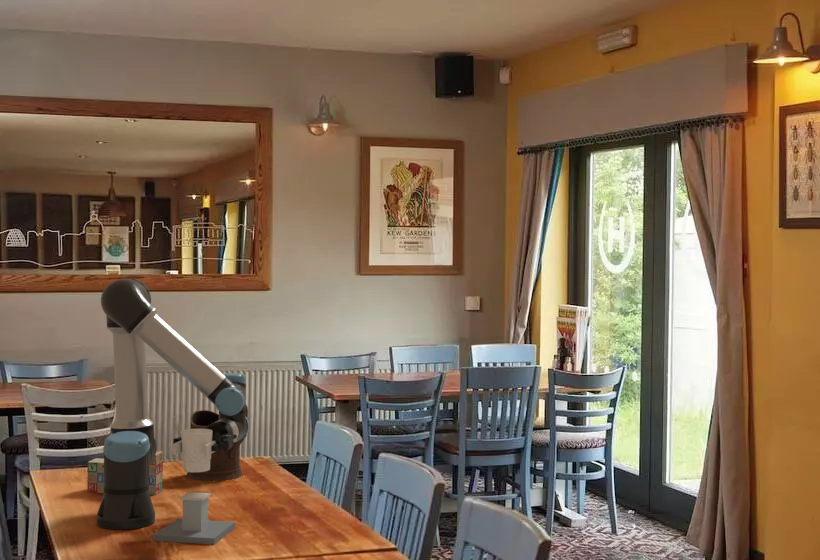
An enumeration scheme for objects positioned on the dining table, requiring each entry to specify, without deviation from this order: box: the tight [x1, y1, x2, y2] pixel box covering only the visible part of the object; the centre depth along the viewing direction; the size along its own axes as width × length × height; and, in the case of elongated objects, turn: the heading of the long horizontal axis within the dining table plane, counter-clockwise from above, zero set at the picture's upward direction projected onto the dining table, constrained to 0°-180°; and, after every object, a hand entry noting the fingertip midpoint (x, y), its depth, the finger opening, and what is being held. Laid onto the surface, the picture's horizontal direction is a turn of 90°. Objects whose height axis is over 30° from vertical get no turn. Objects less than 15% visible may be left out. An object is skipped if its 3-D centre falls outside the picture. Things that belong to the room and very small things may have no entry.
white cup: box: [180, 428, 213, 473], centre depth 264 cm, size 8×8×10 cm
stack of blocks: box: [86, 450, 164, 496], centre depth 310 cm, size 21×6×12 cm, turn 84°
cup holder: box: [185, 404, 249, 482], centre depth 333 cm, size 18×24×25 cm
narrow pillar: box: [152, 491, 236, 545], centre depth 264 cm, size 16×16×10 cm
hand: (189, 450), depth 259 cm, fingers closed on white cup, 7 cm apart
